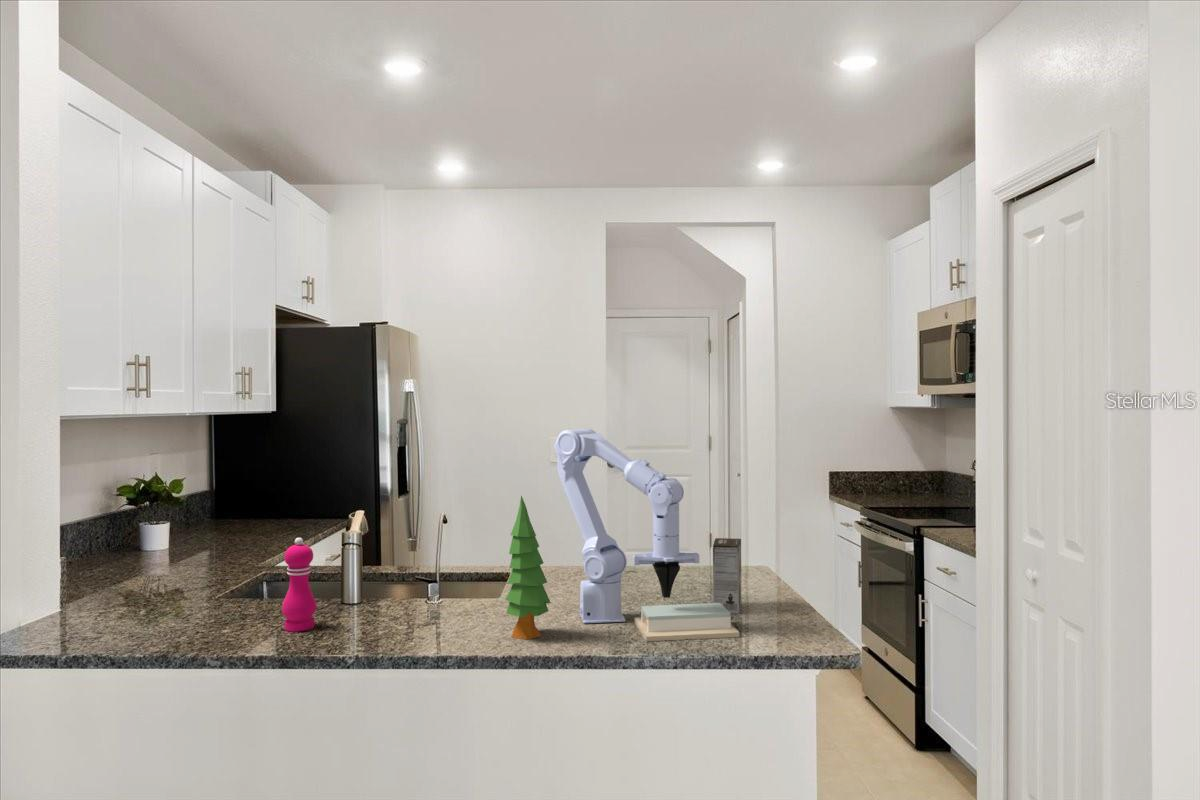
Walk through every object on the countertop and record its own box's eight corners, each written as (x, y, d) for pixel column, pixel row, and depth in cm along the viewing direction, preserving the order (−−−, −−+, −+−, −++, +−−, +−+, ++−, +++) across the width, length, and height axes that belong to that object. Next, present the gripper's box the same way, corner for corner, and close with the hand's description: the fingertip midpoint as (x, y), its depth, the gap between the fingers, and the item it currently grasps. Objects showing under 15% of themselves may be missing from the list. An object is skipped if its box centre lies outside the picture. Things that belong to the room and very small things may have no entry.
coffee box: (715, 602, 199) (714, 537, 199) (741, 603, 198) (741, 538, 197) (712, 612, 190) (712, 544, 190) (740, 614, 189) (740, 545, 188)
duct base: (646, 641, 169) (646, 624, 169) (634, 622, 183) (634, 606, 183) (739, 637, 171) (739, 620, 171) (720, 618, 185) (720, 603, 185)
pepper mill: (284, 634, 175) (283, 541, 174) (280, 625, 181) (279, 536, 181) (319, 629, 178) (318, 538, 178) (314, 621, 184) (313, 533, 184)
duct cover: (648, 620, 172) (648, 616, 172) (641, 609, 180) (641, 606, 180) (730, 616, 174) (730, 613, 174) (720, 606, 182) (720, 602, 182)
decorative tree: (510, 628, 178) (509, 492, 178) (552, 628, 178) (552, 492, 178) (503, 642, 169) (502, 498, 168) (548, 642, 168) (547, 498, 168)
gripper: (636, 539, 172) (636, 602, 172) (703, 537, 174) (703, 600, 174) (630, 533, 179) (630, 594, 179) (694, 531, 181) (694, 591, 181)
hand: (666, 596), depth 177 cm, fingers closed
